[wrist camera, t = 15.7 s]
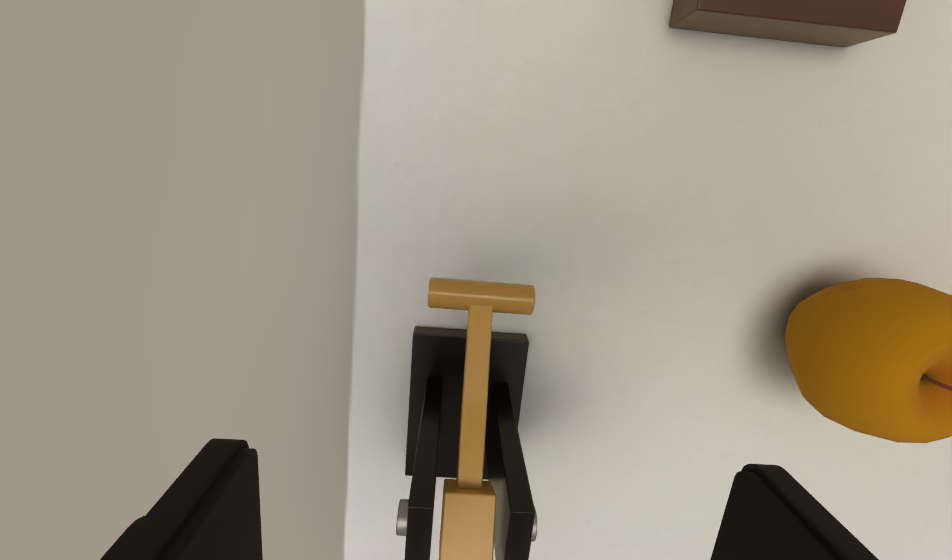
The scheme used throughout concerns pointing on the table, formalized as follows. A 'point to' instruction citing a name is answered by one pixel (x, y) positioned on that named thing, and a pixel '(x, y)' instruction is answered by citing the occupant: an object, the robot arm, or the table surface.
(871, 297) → the apple
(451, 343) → the handle bracket
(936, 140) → the table surface
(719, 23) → the brown dial base
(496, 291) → the door handle
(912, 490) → the table surface
